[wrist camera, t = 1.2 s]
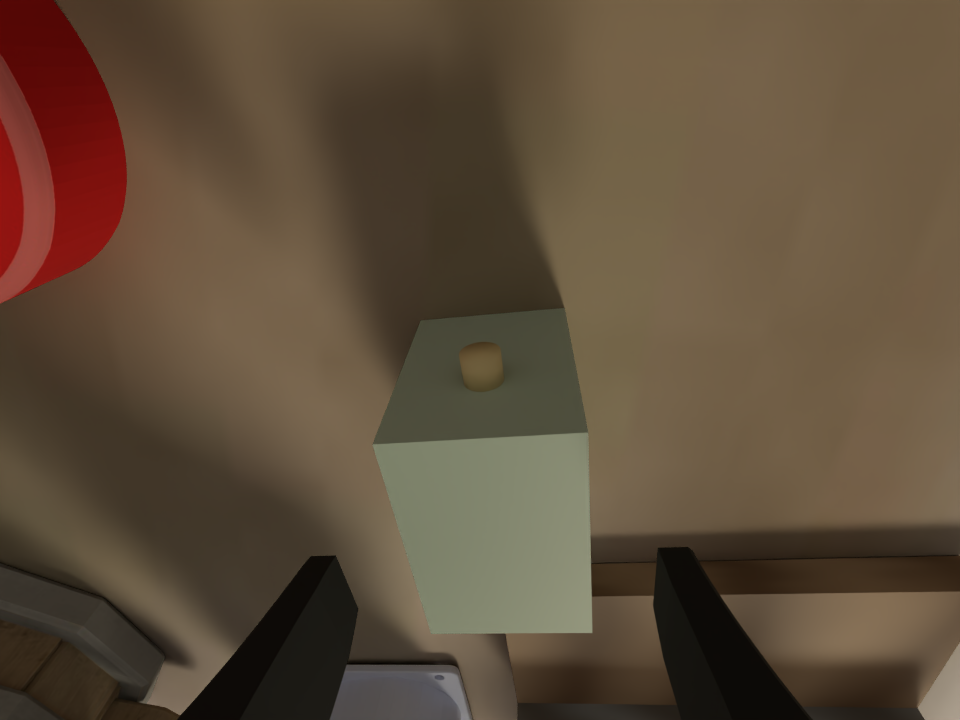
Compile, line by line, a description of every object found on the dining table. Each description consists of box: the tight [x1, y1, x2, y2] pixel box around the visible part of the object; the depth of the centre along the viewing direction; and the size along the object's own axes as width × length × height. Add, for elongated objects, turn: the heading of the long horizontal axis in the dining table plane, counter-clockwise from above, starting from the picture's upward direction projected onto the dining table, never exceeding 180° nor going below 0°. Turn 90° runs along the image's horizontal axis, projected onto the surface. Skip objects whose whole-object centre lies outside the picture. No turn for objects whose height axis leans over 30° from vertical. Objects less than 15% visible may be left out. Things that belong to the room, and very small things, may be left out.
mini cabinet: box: [373, 308, 592, 634], centre depth 14 cm, size 4×8×6 cm, turn 7°
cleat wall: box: [505, 556, 960, 720], centre depth 21 cm, size 18×10×5 cm, turn 98°
